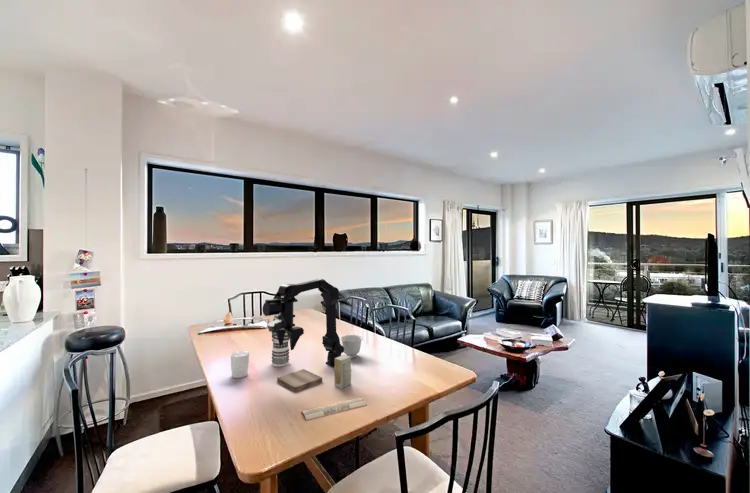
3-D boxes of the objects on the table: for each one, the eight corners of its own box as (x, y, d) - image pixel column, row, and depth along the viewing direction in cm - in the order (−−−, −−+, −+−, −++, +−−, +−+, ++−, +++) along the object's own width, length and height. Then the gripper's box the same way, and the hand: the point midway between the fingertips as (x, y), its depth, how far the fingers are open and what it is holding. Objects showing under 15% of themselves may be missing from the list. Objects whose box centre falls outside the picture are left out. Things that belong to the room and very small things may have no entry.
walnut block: (303, 374, 152) (303, 369, 152) (322, 383, 143) (322, 377, 143) (277, 383, 142) (277, 377, 142) (295, 393, 133) (295, 387, 133)
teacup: (364, 351, 185) (364, 333, 185) (360, 360, 170) (360, 341, 170) (343, 350, 186) (343, 333, 186) (338, 359, 171) (338, 340, 171)
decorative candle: (266, 364, 163) (267, 315, 163) (280, 359, 171) (280, 311, 171) (280, 368, 158) (281, 317, 158) (293, 362, 166) (294, 313, 166)
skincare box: (344, 381, 144) (344, 354, 144) (351, 384, 141) (351, 356, 141) (333, 386, 139) (334, 357, 139) (340, 389, 136) (341, 360, 136)
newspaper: (360, 400, 128) (360, 395, 128) (368, 408, 122) (368, 403, 122) (301, 414, 117) (301, 409, 117) (307, 424, 110) (307, 419, 110)
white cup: (229, 379, 144) (229, 357, 144) (231, 372, 152) (232, 351, 152) (247, 377, 146) (248, 355, 146) (249, 371, 154) (250, 350, 154)
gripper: (259, 312, 145) (259, 346, 145) (281, 318, 132) (281, 357, 132) (281, 308, 153) (281, 341, 153) (304, 314, 140) (304, 350, 140)
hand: (286, 347), depth 144 cm, fingers open, 9 cm apart
